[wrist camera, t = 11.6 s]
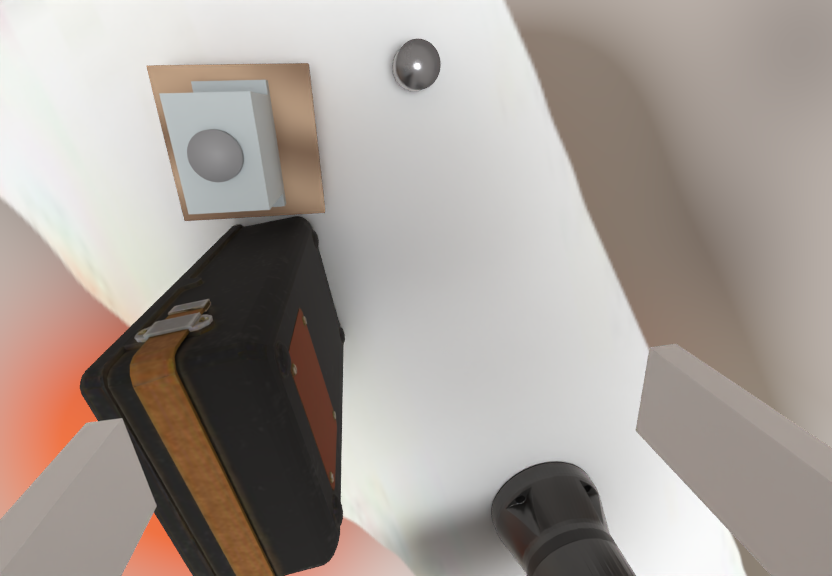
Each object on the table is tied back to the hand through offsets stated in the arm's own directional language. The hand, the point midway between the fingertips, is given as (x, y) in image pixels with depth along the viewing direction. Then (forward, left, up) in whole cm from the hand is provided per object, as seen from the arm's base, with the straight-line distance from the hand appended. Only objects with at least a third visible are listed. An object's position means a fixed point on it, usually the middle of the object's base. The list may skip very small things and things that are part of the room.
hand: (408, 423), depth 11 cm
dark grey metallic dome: (+11, -5, -32) cm, 34 cm away
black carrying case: (-9, +8, -32) cm, 34 cm away
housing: (+5, +9, -27) cm, 29 cm away
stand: (+5, +9, -32) cm, 33 cm away
